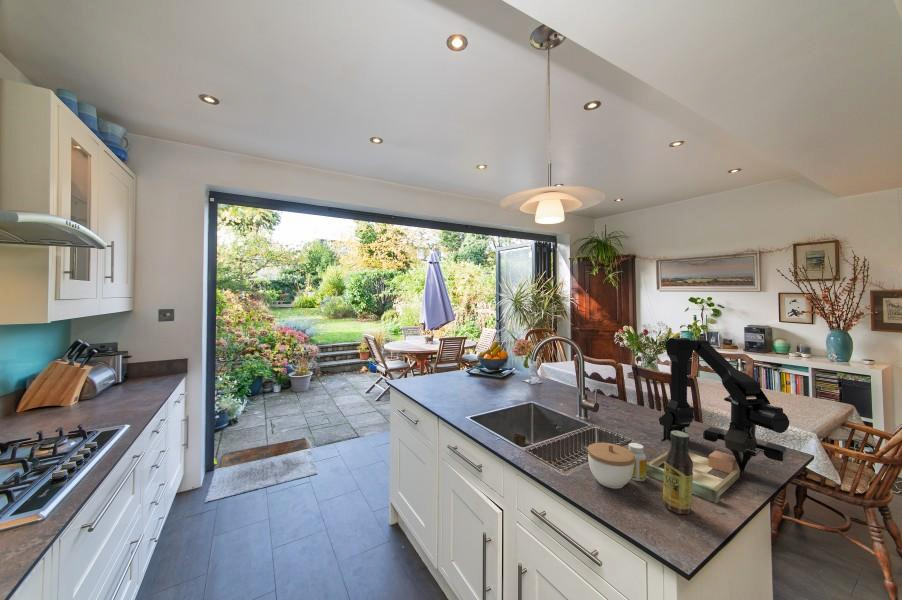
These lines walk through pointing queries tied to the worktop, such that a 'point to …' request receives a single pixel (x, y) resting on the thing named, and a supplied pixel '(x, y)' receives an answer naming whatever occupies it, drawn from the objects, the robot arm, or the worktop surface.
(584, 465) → the worktop surface
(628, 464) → the lidded bowl
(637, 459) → the supplement bottle
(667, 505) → the sauce bottle
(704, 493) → the box
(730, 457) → the block
